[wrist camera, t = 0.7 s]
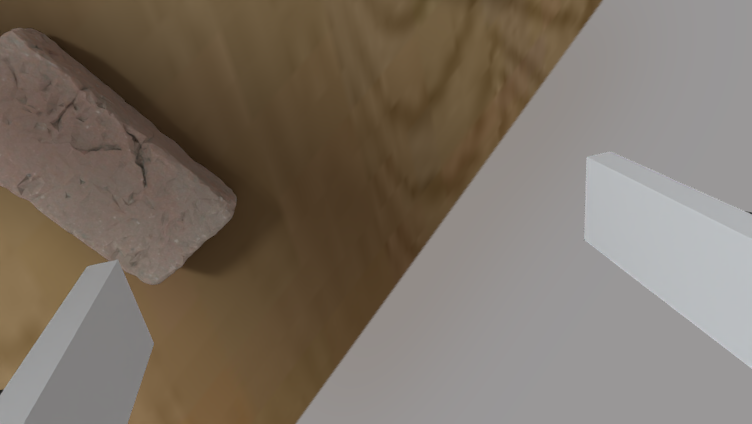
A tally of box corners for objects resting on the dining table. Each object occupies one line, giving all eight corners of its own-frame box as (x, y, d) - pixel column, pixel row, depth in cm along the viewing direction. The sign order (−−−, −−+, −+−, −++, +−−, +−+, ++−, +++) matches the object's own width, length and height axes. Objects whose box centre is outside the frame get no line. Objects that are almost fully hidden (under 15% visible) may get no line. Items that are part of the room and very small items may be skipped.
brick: (243, 193, 37) (241, 218, 33) (168, 267, 38) (156, 300, 34) (38, 18, 31) (1, 21, 26) (-47, 114, 32) (-96, 131, 27)
